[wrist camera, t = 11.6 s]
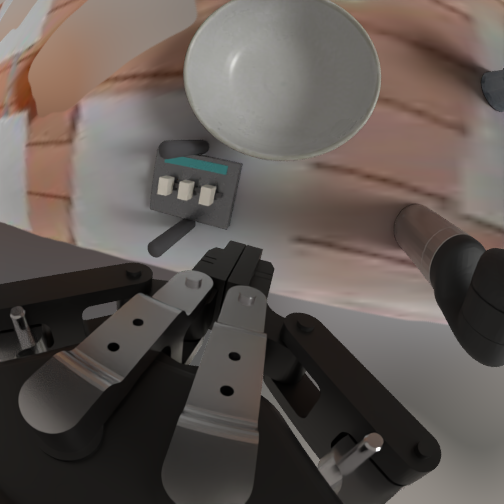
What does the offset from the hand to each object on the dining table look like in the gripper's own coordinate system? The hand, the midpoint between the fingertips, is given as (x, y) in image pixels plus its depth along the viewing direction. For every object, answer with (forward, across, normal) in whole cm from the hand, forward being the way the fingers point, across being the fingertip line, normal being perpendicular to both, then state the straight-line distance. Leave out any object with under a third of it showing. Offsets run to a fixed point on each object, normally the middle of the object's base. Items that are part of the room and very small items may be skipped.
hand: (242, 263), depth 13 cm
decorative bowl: (+37, +4, -16) cm, 41 cm away
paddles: (+34, +16, +6) cm, 38 cm away
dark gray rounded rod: (+37, +16, -2) cm, 40 cm away
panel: (+37, +16, +6) cm, 41 cm away
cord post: (+37, +16, +14) cm, 43 cm away
